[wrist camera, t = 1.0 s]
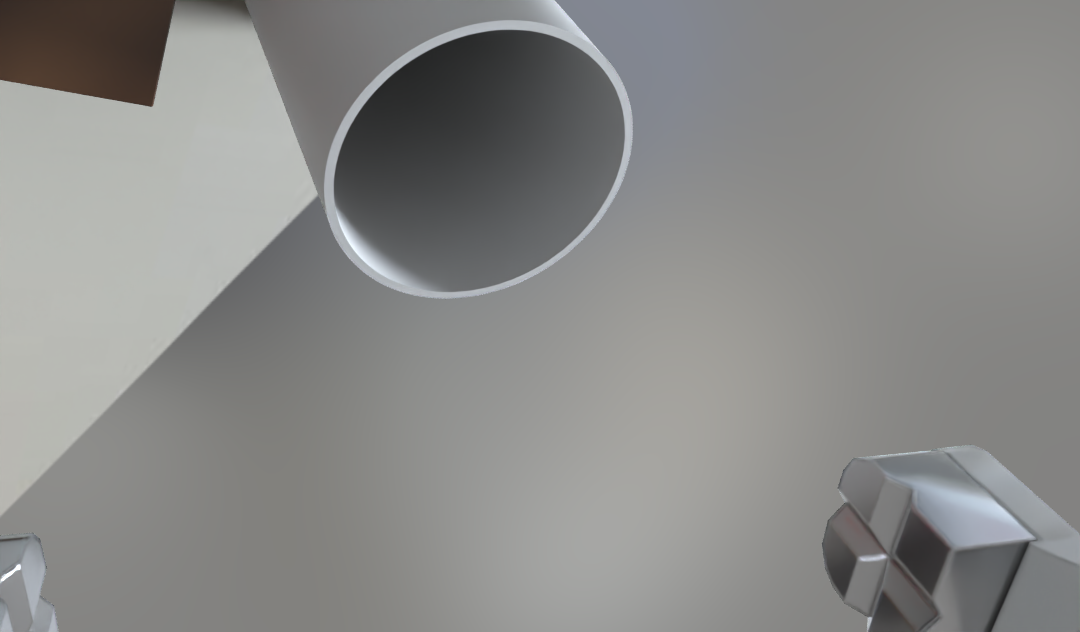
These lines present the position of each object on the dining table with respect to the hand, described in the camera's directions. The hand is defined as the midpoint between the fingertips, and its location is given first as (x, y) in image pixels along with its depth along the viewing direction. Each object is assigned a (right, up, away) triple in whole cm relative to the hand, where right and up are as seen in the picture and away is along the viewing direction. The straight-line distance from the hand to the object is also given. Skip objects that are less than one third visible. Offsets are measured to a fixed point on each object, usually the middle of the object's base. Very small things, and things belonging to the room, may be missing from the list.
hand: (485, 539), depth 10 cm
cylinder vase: (-11, +24, +43) cm, 51 cm away
